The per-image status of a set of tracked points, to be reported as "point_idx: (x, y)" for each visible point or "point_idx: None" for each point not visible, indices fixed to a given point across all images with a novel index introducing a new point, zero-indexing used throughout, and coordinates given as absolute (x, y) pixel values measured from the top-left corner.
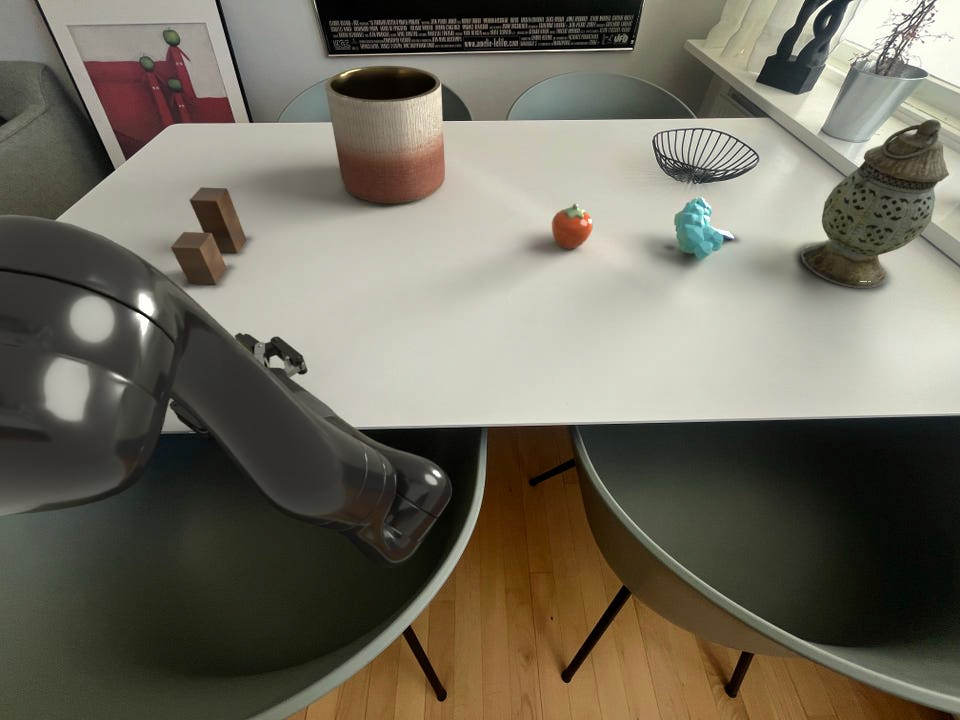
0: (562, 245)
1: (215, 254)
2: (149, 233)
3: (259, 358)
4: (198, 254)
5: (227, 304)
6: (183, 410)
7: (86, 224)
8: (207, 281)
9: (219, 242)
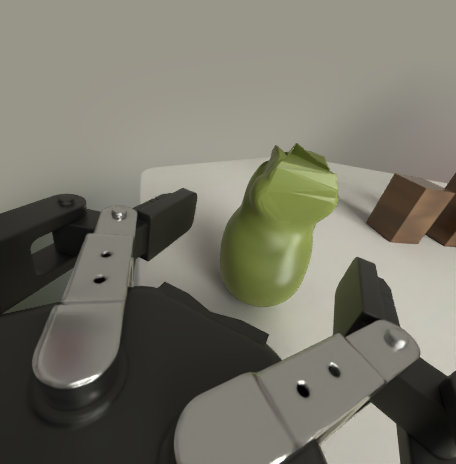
0: None
1: (428, 216)
2: (378, 192)
3: (345, 378)
4: (415, 195)
5: (380, 260)
6: (19, 217)
7: (348, 170)
8: (385, 232)
9: (438, 222)
